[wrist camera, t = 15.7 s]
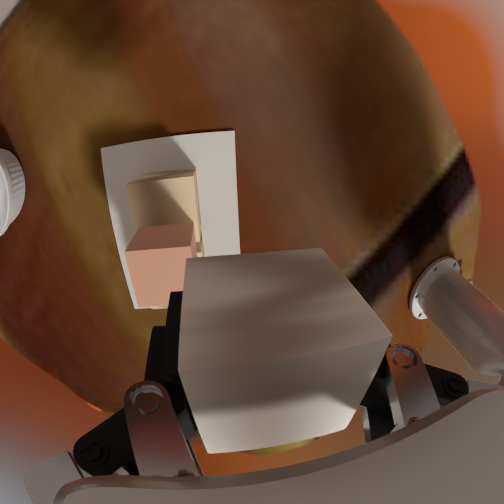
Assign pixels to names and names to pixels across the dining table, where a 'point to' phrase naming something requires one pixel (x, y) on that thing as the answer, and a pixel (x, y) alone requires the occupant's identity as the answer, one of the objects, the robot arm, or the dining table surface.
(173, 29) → the dining table surface
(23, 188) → the ramekin
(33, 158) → the dining table surface
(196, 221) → the maple block
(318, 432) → the birch cube
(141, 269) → the terracotta cube
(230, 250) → the felt mat
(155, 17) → the dining table surface
